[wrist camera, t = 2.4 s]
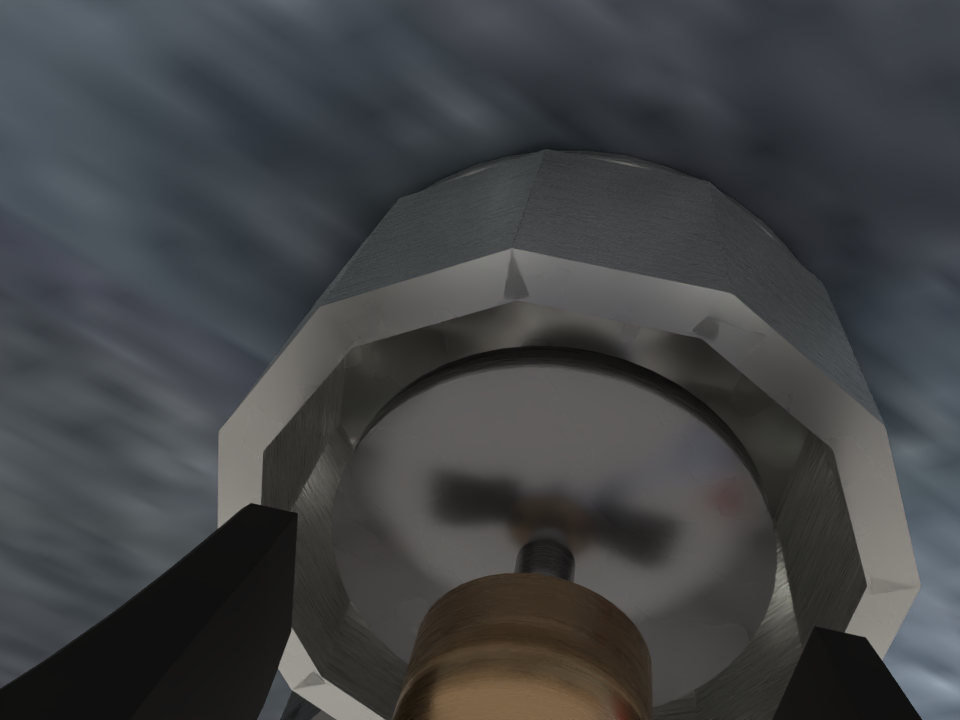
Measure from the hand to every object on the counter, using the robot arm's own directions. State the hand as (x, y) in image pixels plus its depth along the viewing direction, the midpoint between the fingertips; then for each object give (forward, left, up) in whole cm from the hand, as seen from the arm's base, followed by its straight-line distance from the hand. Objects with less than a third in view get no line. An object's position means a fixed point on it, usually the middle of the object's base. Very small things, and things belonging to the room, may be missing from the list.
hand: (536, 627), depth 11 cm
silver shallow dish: (0, +1, -5) cm, 6 cm away
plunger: (0, 0, -2) cm, 2 cm away
